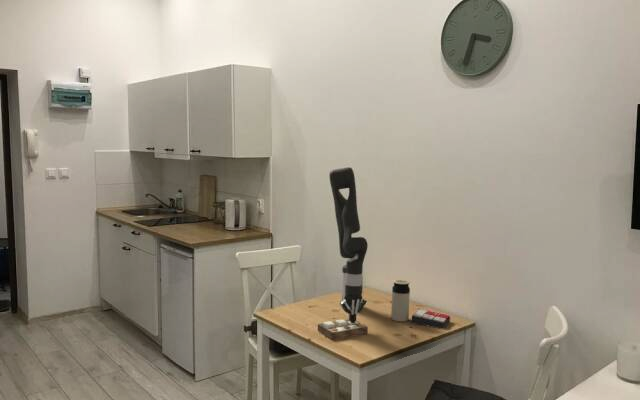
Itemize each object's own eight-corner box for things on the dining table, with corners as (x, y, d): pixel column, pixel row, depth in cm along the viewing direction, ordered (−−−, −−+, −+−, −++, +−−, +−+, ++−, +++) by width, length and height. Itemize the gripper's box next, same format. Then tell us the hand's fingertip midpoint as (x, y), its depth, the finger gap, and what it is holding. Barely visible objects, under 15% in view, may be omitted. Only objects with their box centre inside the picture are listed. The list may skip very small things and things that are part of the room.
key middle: (342, 324, 232) (342, 319, 232) (346, 327, 229) (346, 321, 228) (335, 326, 230) (335, 320, 230) (339, 328, 227) (339, 322, 227)
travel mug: (408, 322, 243) (409, 284, 242) (390, 321, 245) (392, 282, 243) (408, 317, 251) (410, 279, 249) (391, 316, 253) (393, 278, 251)
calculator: (444, 321, 236) (411, 314, 243) (443, 330, 237) (410, 323, 244) (450, 315, 246) (419, 307, 253) (449, 324, 246) (418, 316, 253)
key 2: (353, 326, 235) (354, 320, 235) (358, 328, 232) (358, 322, 231) (346, 327, 233) (347, 321, 233) (351, 329, 230) (351, 324, 230)
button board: (352, 325, 238) (352, 318, 237) (367, 333, 227) (367, 326, 227) (317, 330, 229) (317, 323, 229) (331, 340, 219) (331, 332, 218)
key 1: (330, 326, 229) (330, 321, 229) (334, 329, 226) (334, 323, 226) (322, 328, 227) (323, 322, 227) (327, 330, 224) (327, 324, 224)
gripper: (361, 279, 237) (360, 317, 239) (336, 282, 231) (334, 321, 232) (371, 283, 230) (370, 322, 232) (345, 286, 224) (344, 327, 226)
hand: (352, 322), depth 232 cm, fingers closed
